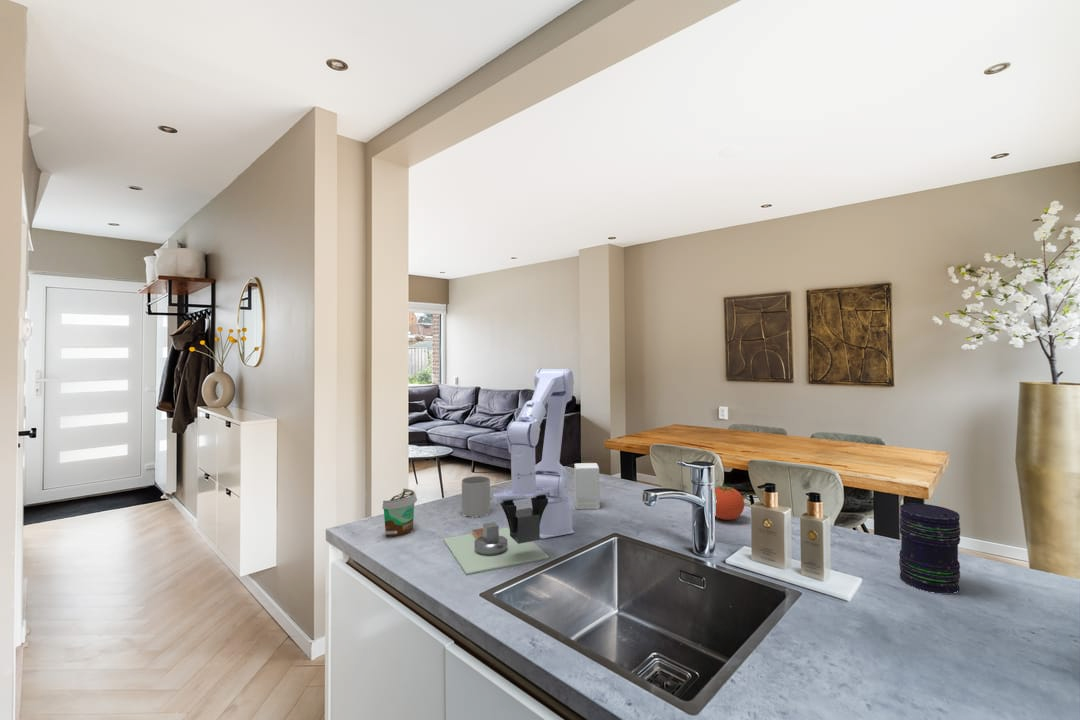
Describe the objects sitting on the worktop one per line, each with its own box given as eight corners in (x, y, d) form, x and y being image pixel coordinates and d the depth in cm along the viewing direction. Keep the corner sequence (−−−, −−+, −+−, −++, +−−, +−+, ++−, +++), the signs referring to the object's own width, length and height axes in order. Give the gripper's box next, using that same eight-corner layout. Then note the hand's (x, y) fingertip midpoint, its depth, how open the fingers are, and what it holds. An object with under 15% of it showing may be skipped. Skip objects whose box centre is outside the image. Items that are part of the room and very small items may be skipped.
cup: (475, 506, 157) (475, 474, 156) (495, 511, 152) (495, 478, 152) (456, 514, 150) (455, 481, 150) (476, 519, 145) (476, 485, 145)
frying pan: (512, 552, 120) (511, 527, 120) (480, 558, 117) (479, 533, 117) (491, 531, 134) (491, 508, 134) (462, 536, 131) (462, 513, 131)
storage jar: (888, 577, 106) (888, 507, 105) (917, 568, 109) (917, 500, 109) (941, 598, 96) (942, 521, 96) (971, 588, 100) (971, 514, 100)
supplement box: (600, 509, 152) (599, 468, 152) (575, 509, 152) (575, 468, 152) (597, 501, 160) (597, 462, 159) (574, 502, 160) (573, 462, 159)
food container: (404, 540, 130) (403, 502, 129) (383, 539, 131) (382, 501, 131) (425, 524, 142) (424, 488, 142) (404, 522, 143) (404, 488, 143)
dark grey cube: (530, 532, 122) (530, 507, 122) (539, 539, 117) (539, 514, 117) (509, 535, 120) (509, 510, 119) (518, 543, 115) (517, 518, 115)
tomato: (750, 525, 137) (750, 489, 137) (712, 525, 137) (712, 489, 137) (736, 512, 147) (736, 479, 147) (701, 513, 147) (701, 479, 147)
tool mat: (515, 527, 138) (515, 526, 138) (549, 558, 118) (549, 556, 118) (443, 540, 130) (443, 538, 130) (466, 575, 109) (466, 573, 109)
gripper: (499, 480, 111) (501, 540, 112) (558, 472, 117) (559, 530, 118) (489, 473, 118) (491, 530, 118) (546, 466, 124) (546, 520, 124)
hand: (524, 529), depth 118 cm, fingers closed on dark grey cube, 5 cm apart
